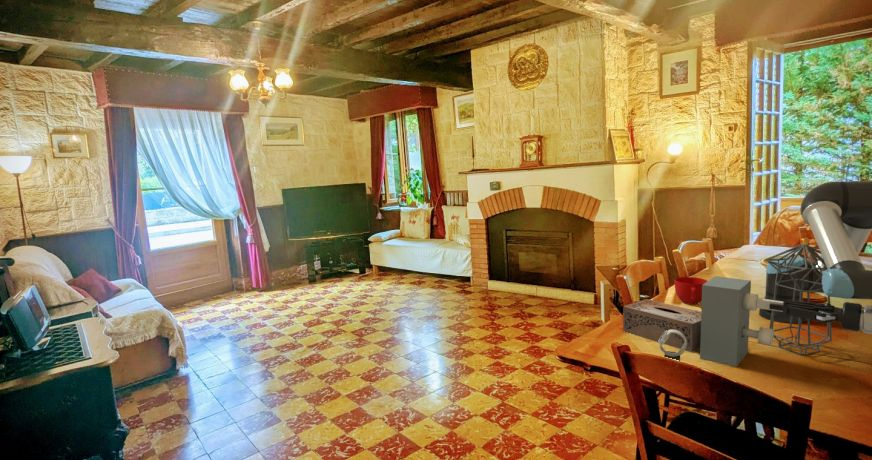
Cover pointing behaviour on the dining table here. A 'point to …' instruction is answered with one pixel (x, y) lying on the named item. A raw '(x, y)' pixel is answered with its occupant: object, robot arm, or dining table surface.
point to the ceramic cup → (689, 289)
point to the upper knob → (750, 301)
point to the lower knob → (760, 335)
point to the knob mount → (724, 320)
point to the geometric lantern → (813, 254)
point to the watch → (665, 337)
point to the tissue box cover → (663, 323)
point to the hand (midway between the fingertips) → (757, 303)
